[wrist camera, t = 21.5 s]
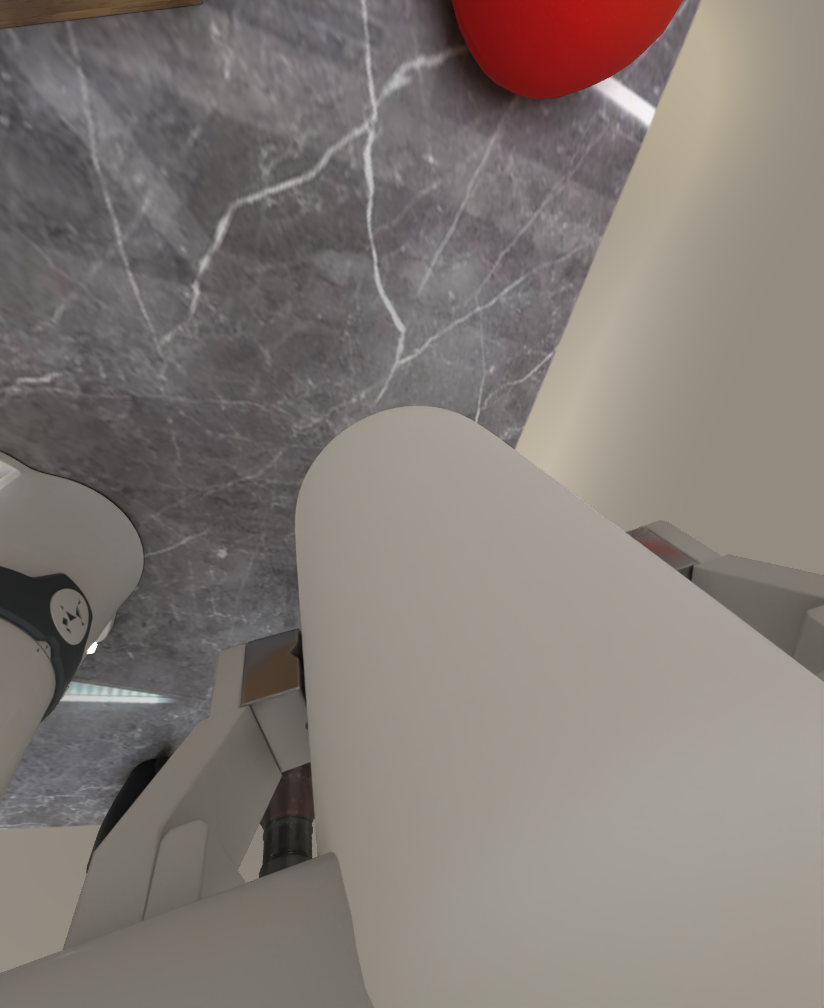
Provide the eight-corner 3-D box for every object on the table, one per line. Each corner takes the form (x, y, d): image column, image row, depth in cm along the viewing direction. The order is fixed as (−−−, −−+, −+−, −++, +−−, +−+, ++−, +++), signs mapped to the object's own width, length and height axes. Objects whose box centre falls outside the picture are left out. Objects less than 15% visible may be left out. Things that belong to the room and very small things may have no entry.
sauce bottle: (313, 653, 51) (328, 849, 34) (326, 693, 54) (346, 893, 37) (251, 670, 50) (234, 881, 33) (268, 710, 53) (260, 923, 36)
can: (452, 618, 16) (771, 1245, 6) (261, 575, 14) (217, 1541, 3) (546, 447, 14) (1285, 927, 4) (344, 361, 12) (872, 1061, 1)
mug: (217, 729, 53) (205, 815, 44) (186, 802, 56) (170, 894, 48) (136, 720, 50) (106, 811, 41) (108, 797, 53) (76, 895, 45)
